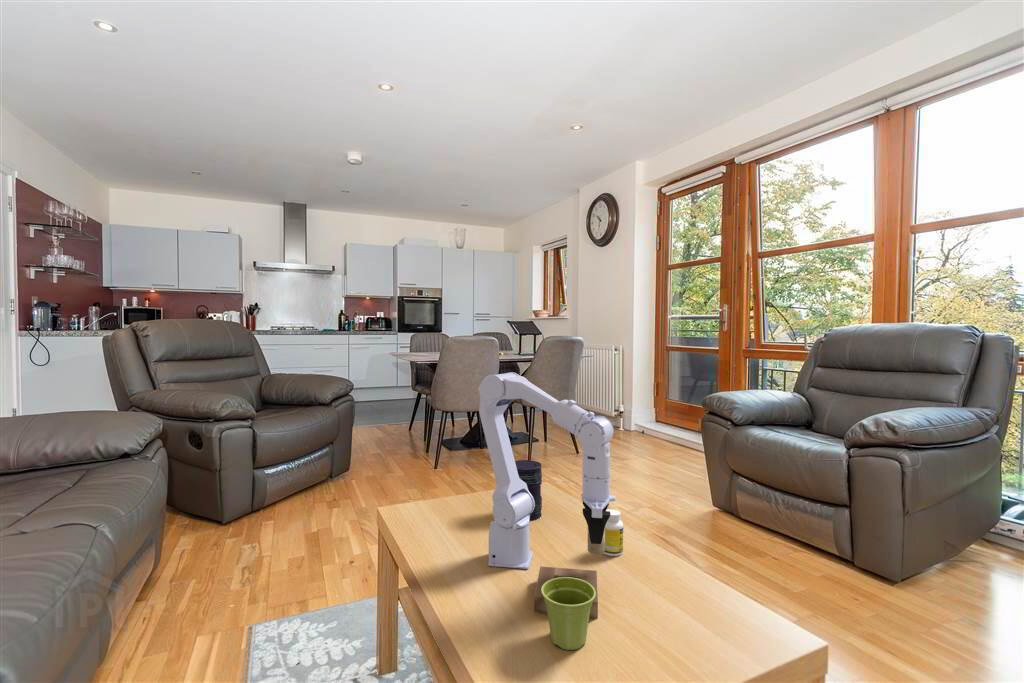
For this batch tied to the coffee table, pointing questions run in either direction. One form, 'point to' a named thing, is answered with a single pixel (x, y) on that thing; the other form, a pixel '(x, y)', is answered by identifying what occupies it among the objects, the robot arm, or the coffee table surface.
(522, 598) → the coffee table surface
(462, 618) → the coffee table surface
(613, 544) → the supplement bottle
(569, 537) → the coffee table surface
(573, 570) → the socket block
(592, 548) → the pin
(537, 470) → the storage jar
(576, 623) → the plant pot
